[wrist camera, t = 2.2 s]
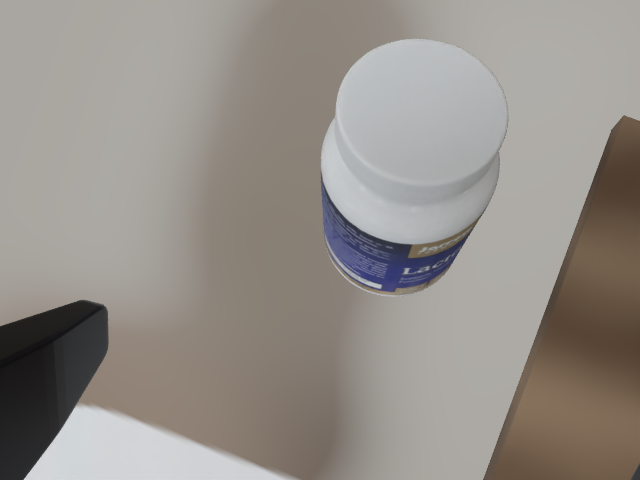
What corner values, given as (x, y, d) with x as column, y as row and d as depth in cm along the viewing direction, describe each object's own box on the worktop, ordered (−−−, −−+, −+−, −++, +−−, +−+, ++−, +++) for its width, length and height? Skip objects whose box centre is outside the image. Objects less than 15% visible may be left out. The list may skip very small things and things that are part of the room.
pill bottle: (412, 326, 23) (459, 245, 14) (298, 252, 24) (271, 132, 15) (481, 218, 25) (567, 79, 15) (371, 153, 26) (387, -11, 17)
